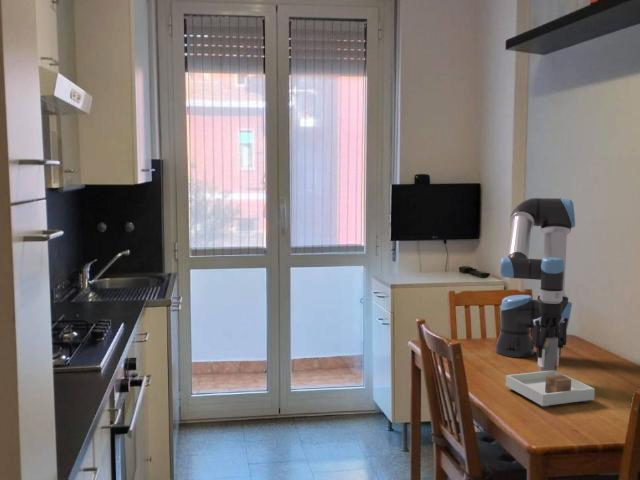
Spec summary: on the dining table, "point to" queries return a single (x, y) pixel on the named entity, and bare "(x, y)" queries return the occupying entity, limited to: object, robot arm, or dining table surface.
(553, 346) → the lotion bottle
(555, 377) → the walnut block
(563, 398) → the tray
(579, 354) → the dining table surface
